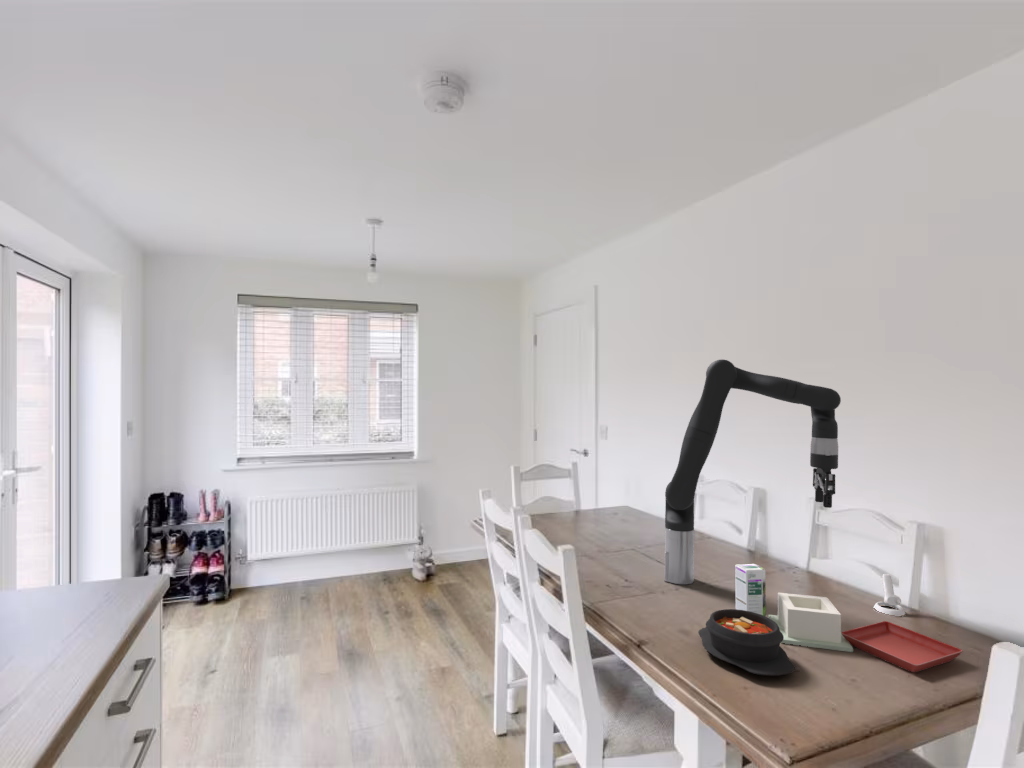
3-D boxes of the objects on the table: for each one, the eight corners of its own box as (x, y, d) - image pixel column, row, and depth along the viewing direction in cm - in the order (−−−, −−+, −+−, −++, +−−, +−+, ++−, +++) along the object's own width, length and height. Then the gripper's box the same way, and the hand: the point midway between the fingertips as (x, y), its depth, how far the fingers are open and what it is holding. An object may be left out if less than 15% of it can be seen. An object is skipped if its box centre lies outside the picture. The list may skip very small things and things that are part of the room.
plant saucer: (916, 679, 120) (916, 664, 120) (839, 644, 137) (839, 631, 137) (964, 664, 127) (964, 650, 127) (885, 633, 144) (885, 620, 144)
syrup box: (746, 623, 148) (747, 569, 148) (734, 615, 154) (735, 563, 154) (766, 622, 149) (766, 569, 149) (753, 614, 154) (753, 562, 155)
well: (780, 643, 136) (780, 611, 136) (768, 618, 152) (768, 589, 152) (852, 652, 132) (853, 618, 132) (832, 625, 148) (832, 595, 148)
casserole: (817, 679, 119) (817, 640, 119) (742, 688, 115) (743, 648, 115) (744, 630, 144) (744, 598, 144) (680, 636, 139) (680, 603, 139)
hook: (888, 583, 166) (904, 577, 160) (896, 625, 159) (913, 619, 153) (863, 578, 166) (878, 571, 161) (870, 618, 159) (886, 613, 154)
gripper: (804, 449, 178) (803, 499, 177) (817, 454, 164) (816, 508, 164) (830, 450, 176) (829, 501, 175) (845, 455, 162) (844, 510, 162)
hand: (823, 504), depth 169 cm, fingers open, 8 cm apart
